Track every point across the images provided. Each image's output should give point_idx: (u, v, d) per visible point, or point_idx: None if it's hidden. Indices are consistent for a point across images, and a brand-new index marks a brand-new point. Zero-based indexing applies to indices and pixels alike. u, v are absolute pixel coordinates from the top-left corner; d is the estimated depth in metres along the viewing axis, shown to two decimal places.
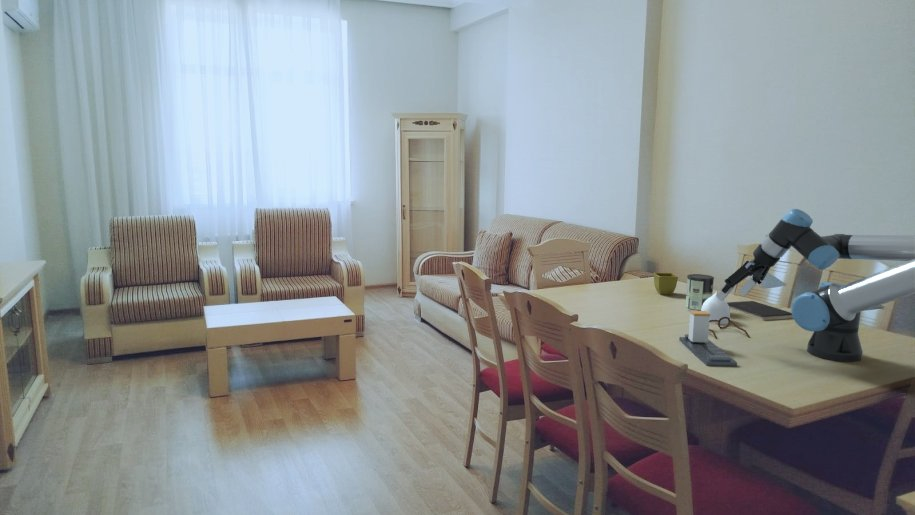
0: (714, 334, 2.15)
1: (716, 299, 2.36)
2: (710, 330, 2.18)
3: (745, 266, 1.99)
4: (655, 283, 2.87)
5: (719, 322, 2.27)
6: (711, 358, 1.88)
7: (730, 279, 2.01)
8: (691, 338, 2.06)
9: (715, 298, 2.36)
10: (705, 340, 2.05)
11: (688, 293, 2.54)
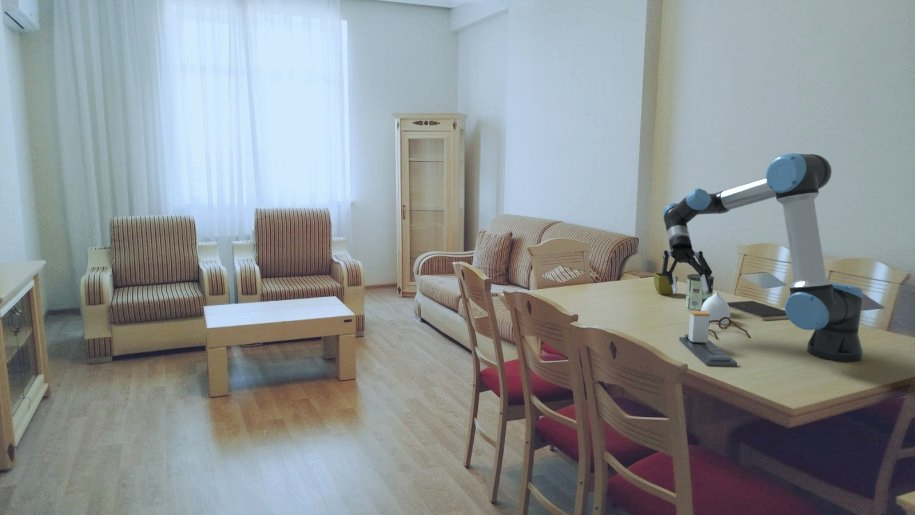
0: (715, 334, 2.15)
1: (716, 299, 2.36)
2: (711, 330, 2.17)
3: (664, 256, 2.24)
4: (655, 283, 2.87)
5: (720, 322, 2.27)
6: (711, 358, 1.88)
7: (662, 270, 2.20)
8: (691, 338, 2.06)
9: (715, 298, 2.36)
10: (705, 340, 2.05)
11: (688, 293, 2.54)
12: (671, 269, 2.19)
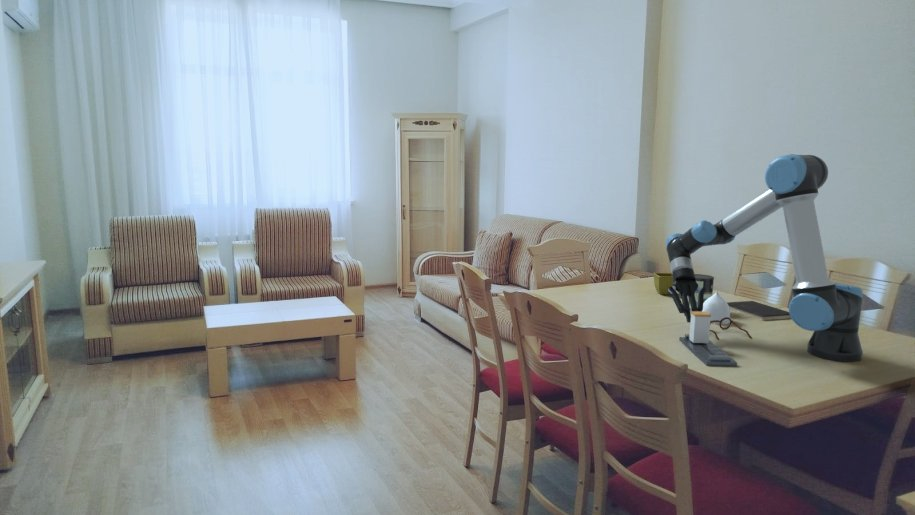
0: (716, 335, 2.15)
1: (716, 299, 2.36)
2: (712, 331, 2.17)
3: (671, 293, 2.18)
4: (655, 283, 2.87)
5: (720, 323, 2.26)
6: (711, 358, 1.88)
7: (678, 307, 2.14)
8: (692, 339, 2.05)
9: (715, 298, 2.36)
10: (706, 341, 2.04)
11: None
12: (687, 306, 2.13)
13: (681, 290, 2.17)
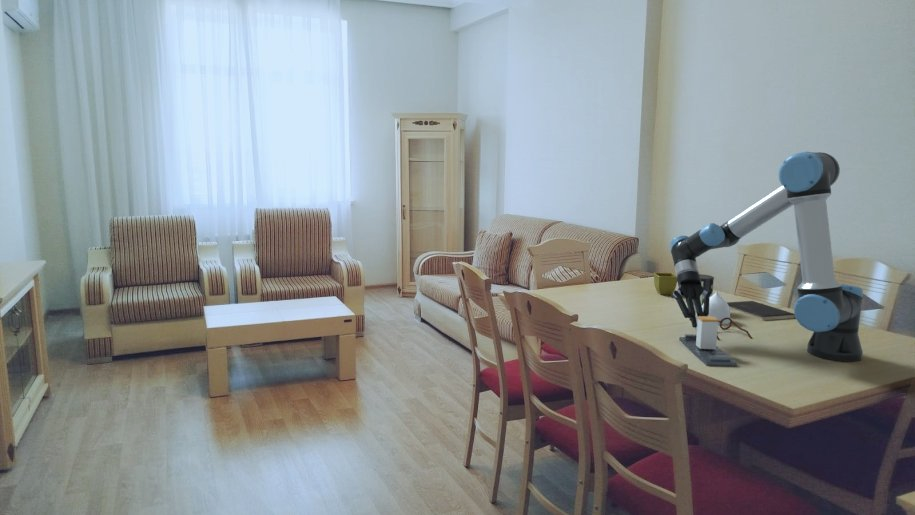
0: None
1: (716, 299, 2.36)
2: None
3: (675, 297, 2.12)
4: (655, 283, 2.87)
5: (721, 323, 2.26)
6: (711, 358, 1.88)
7: (683, 312, 2.08)
8: (699, 345, 1.99)
9: (715, 298, 2.36)
10: (713, 347, 1.98)
11: None
12: (692, 310, 2.07)
13: (686, 294, 2.11)
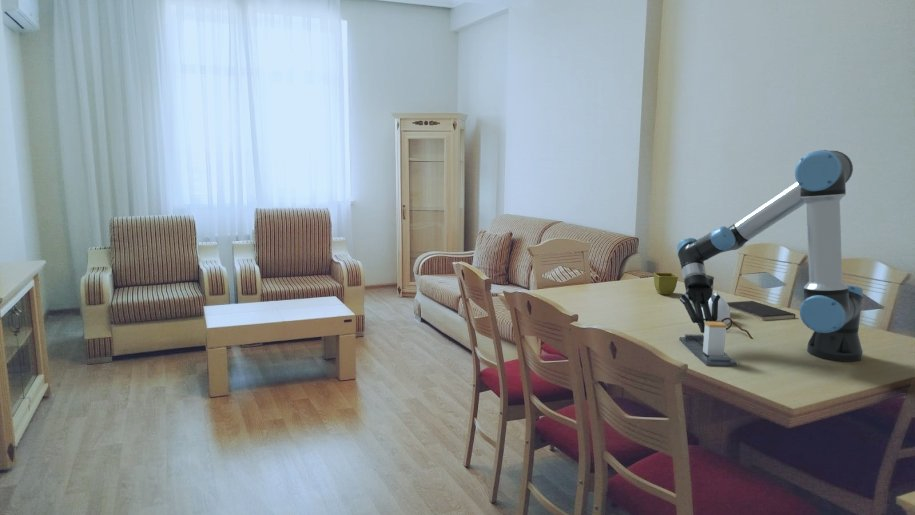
0: None
1: None
2: None
3: (683, 301, 2.05)
4: (655, 283, 2.87)
5: None
6: (711, 358, 1.88)
7: (691, 317, 2.02)
8: (706, 351, 1.92)
9: None
10: (721, 353, 1.91)
11: None
12: (701, 315, 2.00)
13: (694, 298, 2.04)
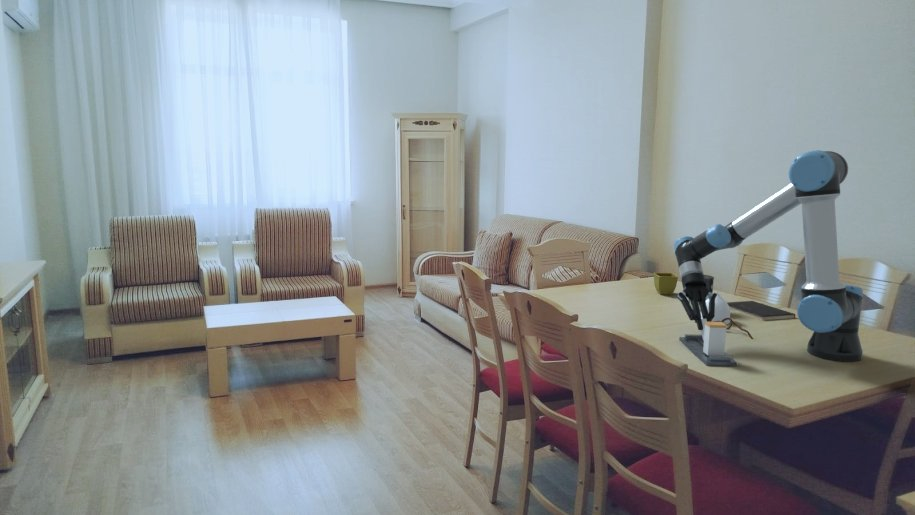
0: None
1: (716, 299, 2.36)
2: None
3: (680, 299, 2.08)
4: (655, 283, 2.87)
5: None
6: (711, 358, 1.88)
7: (689, 314, 2.04)
8: (706, 351, 1.92)
9: (715, 298, 2.36)
10: (721, 353, 1.91)
11: None
12: (698, 313, 2.03)
13: (691, 296, 2.07)
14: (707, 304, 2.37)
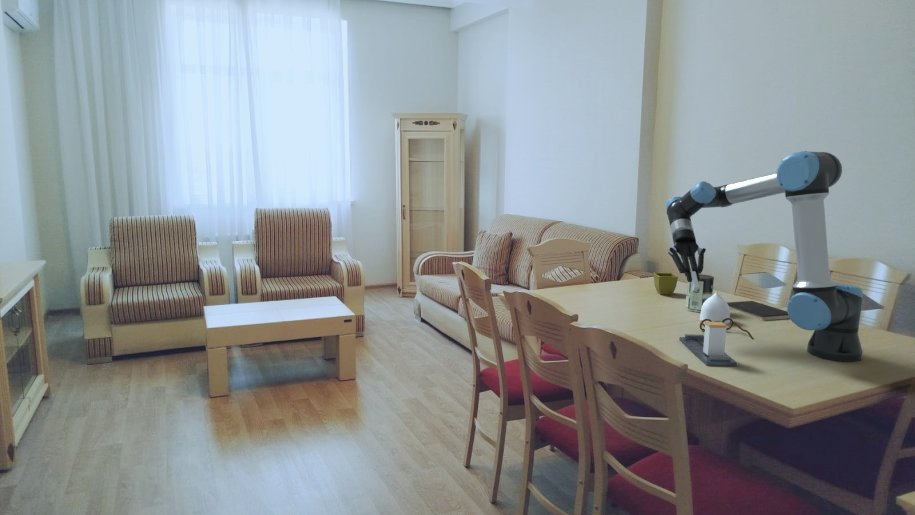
0: None
1: (716, 299, 2.36)
2: None
3: (671, 254, 2.19)
4: (655, 283, 2.87)
5: None
6: (711, 358, 1.88)
7: (679, 268, 2.15)
8: (706, 351, 1.92)
9: (715, 298, 2.36)
10: (721, 353, 1.91)
11: (688, 293, 2.54)
12: (687, 266, 2.14)
13: (681, 251, 2.18)
14: (707, 304, 2.37)
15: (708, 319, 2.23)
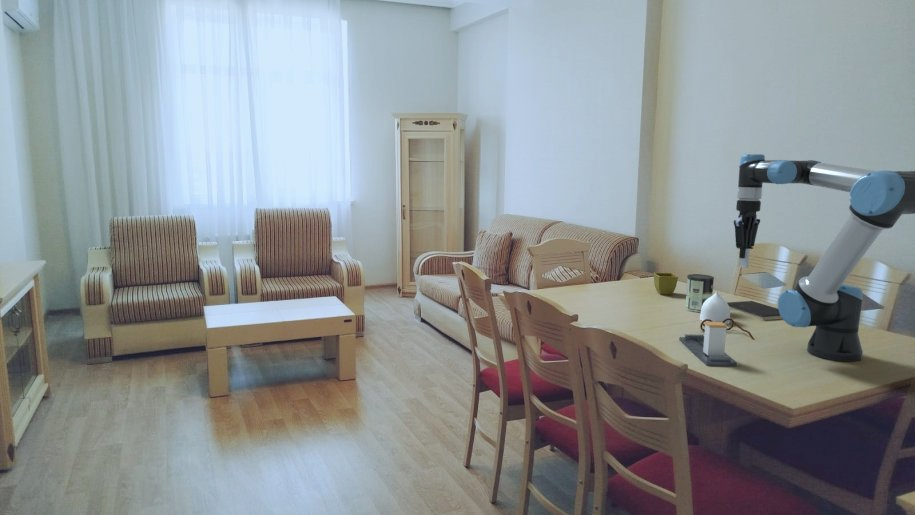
0: None
1: (716, 299, 2.36)
2: None
3: (737, 225, 2.11)
4: (655, 283, 2.87)
5: None
6: (711, 358, 1.88)
7: (738, 242, 2.13)
8: (706, 351, 1.92)
9: (715, 298, 2.36)
10: (721, 353, 1.91)
11: (688, 293, 2.54)
12: (746, 243, 2.13)
13: (746, 224, 2.12)
14: (707, 304, 2.37)
15: (709, 319, 2.23)
